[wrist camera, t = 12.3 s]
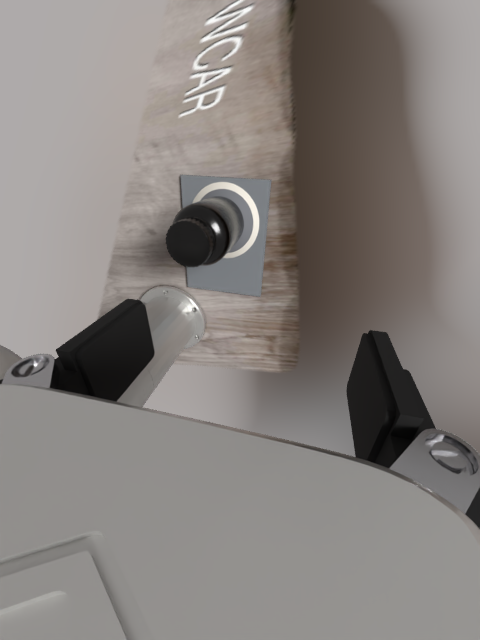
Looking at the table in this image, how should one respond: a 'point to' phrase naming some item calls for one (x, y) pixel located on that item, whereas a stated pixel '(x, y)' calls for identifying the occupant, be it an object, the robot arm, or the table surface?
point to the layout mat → (248, 253)
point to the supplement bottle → (205, 231)
